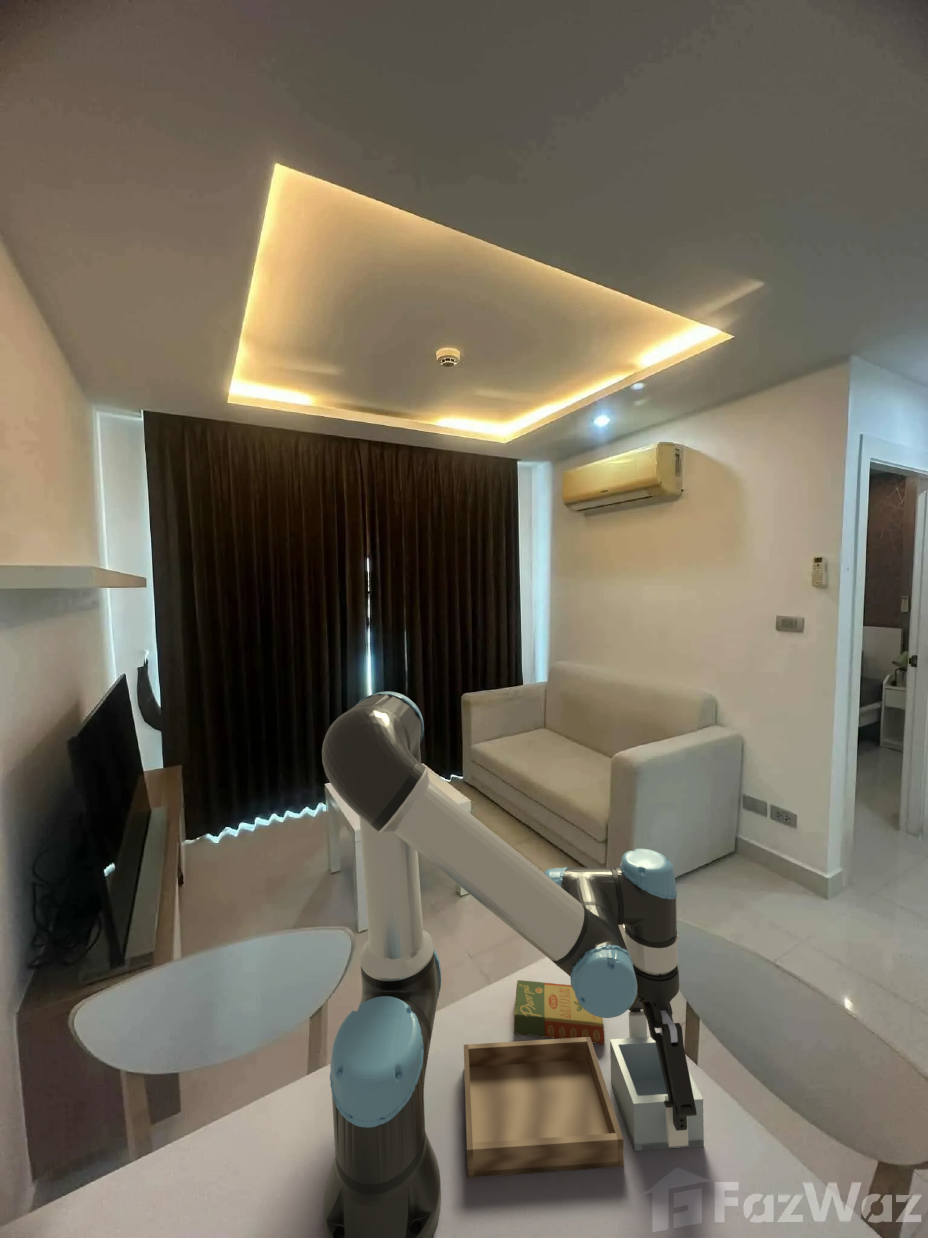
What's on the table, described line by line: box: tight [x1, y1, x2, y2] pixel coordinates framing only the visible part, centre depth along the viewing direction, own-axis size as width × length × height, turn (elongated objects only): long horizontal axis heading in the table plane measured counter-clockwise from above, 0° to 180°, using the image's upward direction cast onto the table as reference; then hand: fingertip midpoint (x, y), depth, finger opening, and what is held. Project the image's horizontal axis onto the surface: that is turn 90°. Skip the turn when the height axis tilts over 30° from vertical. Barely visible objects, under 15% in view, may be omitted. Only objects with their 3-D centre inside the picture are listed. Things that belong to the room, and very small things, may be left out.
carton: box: [513, 979, 605, 1045], centre depth 90 cm, size 8×16×4 cm, turn 80°
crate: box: [463, 1037, 625, 1179], centre depth 74 cm, size 22×16×4 cm
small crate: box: [609, 1036, 705, 1152], centre depth 73 cm, size 10×10×7 cm
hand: (656, 1093), depth 73 cm, fingers open, 13 cm apart
